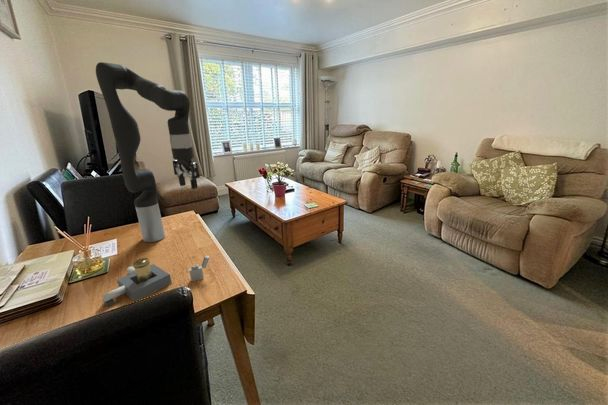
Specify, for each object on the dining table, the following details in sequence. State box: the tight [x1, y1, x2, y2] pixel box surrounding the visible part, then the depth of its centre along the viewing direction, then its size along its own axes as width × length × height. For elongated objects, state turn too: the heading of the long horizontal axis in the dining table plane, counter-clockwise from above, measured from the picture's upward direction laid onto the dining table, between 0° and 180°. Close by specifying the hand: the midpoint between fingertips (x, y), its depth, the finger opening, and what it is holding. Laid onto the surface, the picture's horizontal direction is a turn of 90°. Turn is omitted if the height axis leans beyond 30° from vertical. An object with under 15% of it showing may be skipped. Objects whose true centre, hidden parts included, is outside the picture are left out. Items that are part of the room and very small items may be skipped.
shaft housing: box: [101, 263, 172, 307], centre depth 91 cm, size 17×18×4 cm
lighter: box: [188, 255, 210, 282], centre depth 95 cm, size 7×2×8 cm, turn 115°
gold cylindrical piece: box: [132, 257, 153, 285], centre depth 91 cm, size 5×5×10 cm
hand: (188, 187), depth 108 cm, fingers open, 8 cm apart
